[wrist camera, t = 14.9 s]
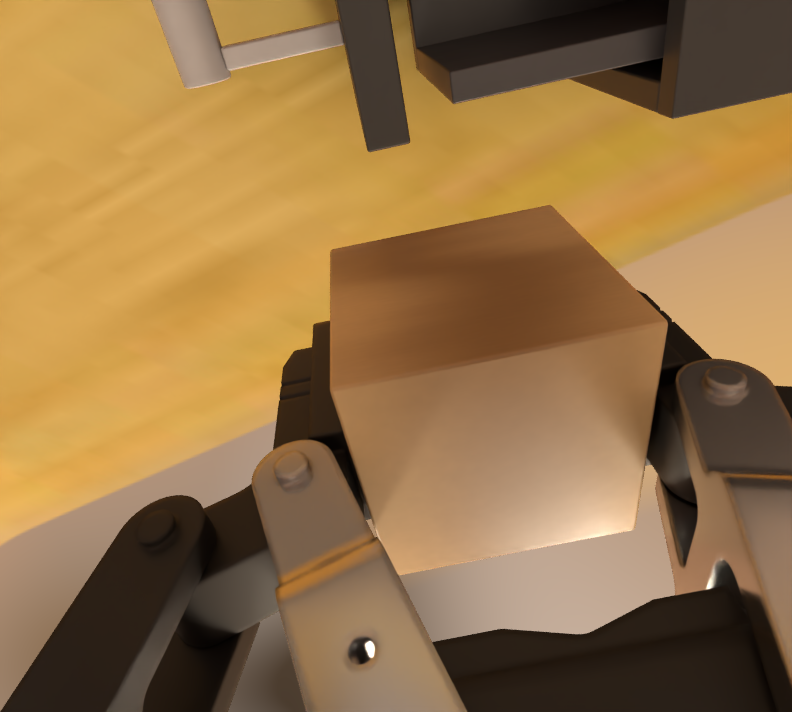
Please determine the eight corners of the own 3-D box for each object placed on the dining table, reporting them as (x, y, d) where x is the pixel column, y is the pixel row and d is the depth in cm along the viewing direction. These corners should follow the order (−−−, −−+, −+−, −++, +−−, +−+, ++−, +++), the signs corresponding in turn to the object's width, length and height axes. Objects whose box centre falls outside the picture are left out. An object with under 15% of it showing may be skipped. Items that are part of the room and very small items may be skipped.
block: (373, 413, 13) (390, 578, 10) (329, 249, 11) (329, 390, 7) (550, 378, 13) (636, 530, 10) (551, 203, 11) (670, 321, 7)
